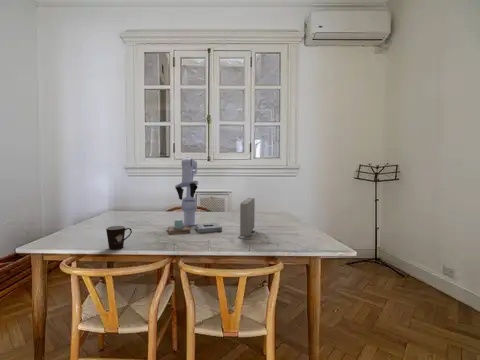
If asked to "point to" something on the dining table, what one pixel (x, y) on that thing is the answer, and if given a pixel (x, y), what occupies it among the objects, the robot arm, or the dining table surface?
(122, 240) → the coffee mug
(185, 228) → the brown square frame
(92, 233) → the dining table surface
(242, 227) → the network device
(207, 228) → the port plate
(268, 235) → the dining table surface
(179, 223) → the plug
